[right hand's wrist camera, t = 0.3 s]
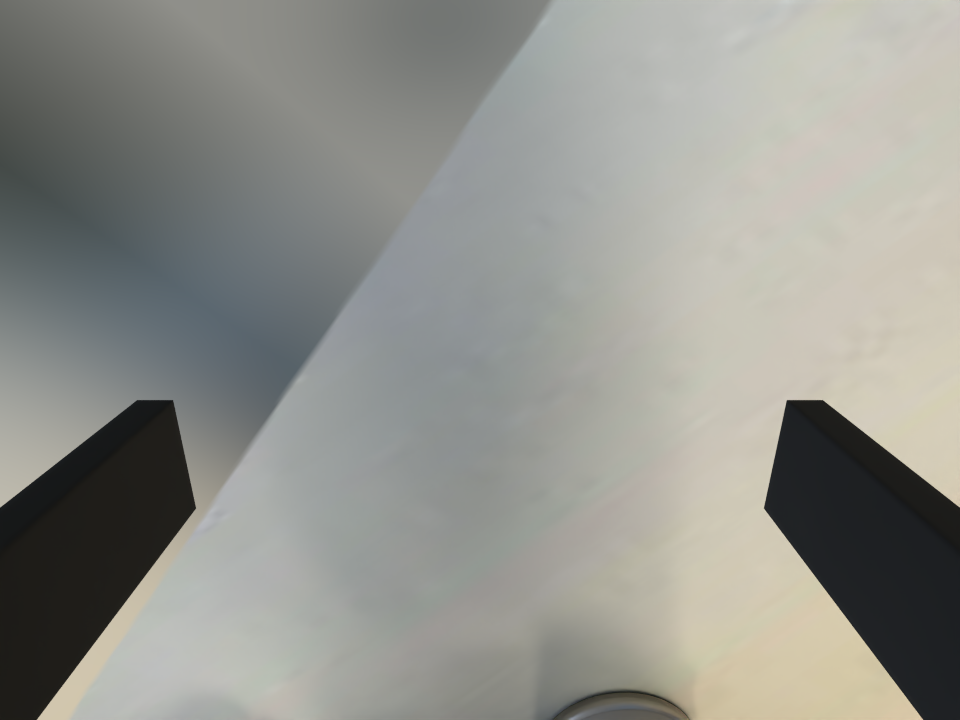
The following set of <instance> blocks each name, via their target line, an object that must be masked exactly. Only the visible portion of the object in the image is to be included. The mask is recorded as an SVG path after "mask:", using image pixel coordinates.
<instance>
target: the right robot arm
mask: <svg viewBox="0 0 960 720" xmlns="http://www.w3.org/2000/svg"><path fill="white" fill-rule="evenodd" d="M195 509H196V506H195V502H194V497H193V492H192V487H191V483H190V478H189V473H188V469H187V464H186V459H185V455H184V450H183V445H182V440H181V435H180V431H179V426H178V421H177V417H176V412H175V407H174V403H173V400H137V401H136V402H134V403H133V404H132V405H131V406H129V407H128V408H127V409H125V410H124V411H123V412H122V413H120V414H119V415H118V416H117V417H115V418H114V419H113V420H112V421H110V422H109V423H108V424H106V425H105V426H104V427H103V428H101V429H100V430H99V431H97V432H96V433H95V434H94V435H92V436H91V437H90V438H88V439H87V440H86V441H85V442H83V443H82V444H81V445H80V446H78V447H77V448H76V449H74V450H73V451H72V452H71V453H69V454H68V455H67V456H66V457H64V458H63V459H62V460H60V461H59V462H58V463H57V464H55V465H54V466H53V467H51V468H50V469H49V470H48V471H46V472H45V473H44V474H43V475H41V476H40V477H39V478H37V479H36V480H35V481H34V482H32V483H31V484H30V485H29V486H27V487H26V488H25V489H23V490H22V491H21V492H20V493H18V494H17V495H16V496H15V497H13V498H12V499H11V500H9V501H8V502H7V503H6V504H4V505H3V506H2V507H0V720H37V719H38V717H39V716H40V715H41V713H42V712H43V711H44V709H45V708H46V707H47V705H48V704H49V703H50V701H51V700H52V699H53V697H54V696H55V695H56V693H57V692H58V691H59V689H60V688H61V687H62V685H63V684H64V683H65V681H66V680H67V679H68V678H69V676H70V675H71V673H72V672H73V671H74V670H75V668H76V667H77V666H78V664H79V663H80V661H81V660H82V659H83V658H84V656H85V655H86V654H87V652H88V651H89V650H90V648H91V647H92V646H93V644H94V643H95V642H96V640H97V639H98V638H99V636H100V635H101V634H102V632H103V631H104V630H105V628H106V627H107V626H108V624H109V623H110V622H111V620H112V619H113V618H114V616H115V615H116V614H117V612H118V611H119V610H120V609H121V607H122V606H123V605H124V603H125V602H126V601H127V599H128V598H129V597H130V595H131V594H132V593H133V591H134V590H135V589H136V587H137V586H138V585H139V583H140V582H141V581H142V579H143V578H144V577H145V575H146V574H147V573H148V571H149V570H150V569H151V567H152V566H153V565H154V563H155V562H156V561H157V559H158V558H159V557H160V555H161V554H162V553H163V551H164V550H165V549H166V547H167V546H168V545H169V543H170V542H171V541H172V539H173V538H174V537H175V536H176V534H177V533H178V531H179V530H180V529H181V528H182V526H183V525H184V524H185V522H186V521H187V520H188V518H189V517H190V516H191V514H192V513H193V512H194V510H195ZM764 509H765V510H766V512H767V513H768V514H769V516H770V517H771V518H772V520H773V521H774V522H775V524H776V525H777V526H778V528H779V529H780V530H781V532H782V533H783V534H784V536H785V537H786V538H787V539H788V541H789V542H790V543H791V545H792V546H793V547H794V549H795V550H796V551H797V553H798V554H799V555H800V557H801V558H802V559H803V561H804V562H805V563H806V565H807V566H808V567H809V569H810V570H811V571H812V573H813V574H814V575H815V577H816V578H817V579H818V581H819V582H820V583H821V585H822V586H823V587H824V589H825V590H826V591H827V593H828V594H829V595H830V597H831V598H832V599H833V601H834V602H835V603H836V605H837V606H838V607H839V609H840V610H841V611H842V612H843V614H844V615H845V616H846V618H847V619H848V620H849V622H850V623H851V624H852V626H853V627H854V628H855V630H856V631H857V632H858V634H859V635H860V636H861V638H862V639H863V640H864V642H865V643H866V644H867V646H868V647H869V648H870V650H871V651H872V652H873V654H874V655H875V656H876V658H877V659H878V660H879V662H880V663H881V664H882V666H883V667H884V668H885V670H886V671H887V672H888V674H889V675H890V676H891V678H892V679H893V680H894V681H895V683H896V684H897V685H898V687H899V688H900V689H901V691H902V692H903V693H904V695H905V696H906V697H907V699H908V700H909V701H910V703H911V704H912V705H913V707H914V708H915V709H916V711H917V712H918V713H919V715H920V716H921V717H922V719H923V720H960V507H958V506H957V505H956V504H954V503H953V502H952V501H951V500H949V499H948V498H947V497H945V496H944V495H943V494H942V493H940V492H939V491H938V490H937V489H935V488H934V487H933V486H931V485H930V484H929V483H928V482H926V481H925V480H924V479H923V478H921V477H920V476H919V475H917V474H916V473H915V472H914V471H912V470H911V469H910V468H909V467H907V466H906V465H905V464H903V463H902V462H901V461H900V460H898V459H897V458H896V457H894V456H893V455H892V454H891V453H889V452H888V451H887V450H886V449H884V448H883V447H882V446H880V445H879V444H878V443H877V442H875V441H874V440H873V439H872V438H870V437H869V436H868V435H866V434H865V433H864V432H863V431H861V430H860V429H859V428H858V427H856V426H855V425H854V424H852V423H851V422H850V421H849V420H847V419H846V418H845V417H843V416H842V415H841V414H840V413H838V412H837V411H836V410H835V409H833V408H832V407H831V406H829V405H828V404H827V403H826V402H824V401H823V400H787V402H786V407H785V412H784V417H783V421H782V426H781V431H780V435H779V440H778V445H777V450H776V454H775V459H774V464H773V468H772V473H771V478H770V483H769V487H768V492H767V497H766V501H765V506H764ZM553 720H689V718H688V717H687V716H686V715H685V714H684V713H683V712H682V711H681V710H680V709H678V708H677V707H676V706H674V705H672V704H671V703H669V702H667V701H664V700H662V699H659V698H657V697H653V696H650V695H645V694H639V693H610V694H604V695H599V696H595V697H591V698H588V699H585V700H583V701H580V702H578V703H576V704H574V705H572V706H570V707H569V708H567V709H565V710H564V711H563V712H561V713H560V714H559V715H558V716H556V717H555V718H554V719H553Z"/></svg>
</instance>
